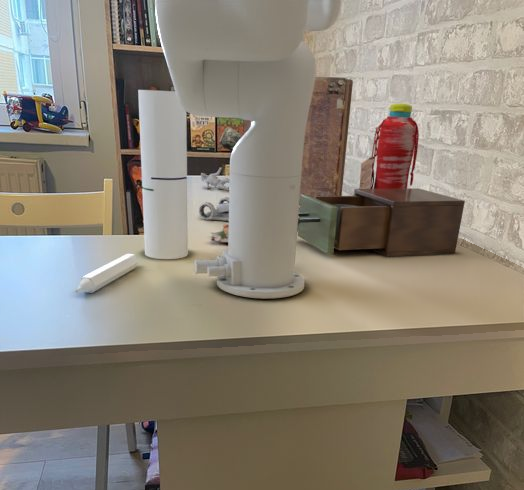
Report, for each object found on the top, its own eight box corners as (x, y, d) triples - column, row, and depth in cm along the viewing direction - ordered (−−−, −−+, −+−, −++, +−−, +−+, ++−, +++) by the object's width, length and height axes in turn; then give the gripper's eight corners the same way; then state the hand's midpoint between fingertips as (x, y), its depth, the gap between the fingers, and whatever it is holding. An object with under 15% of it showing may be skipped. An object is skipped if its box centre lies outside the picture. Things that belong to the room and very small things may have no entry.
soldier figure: (222, 195, 159) (190, 177, 163) (226, 205, 164) (195, 187, 168) (238, 175, 161) (206, 158, 164) (241, 185, 165) (210, 168, 169)
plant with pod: (266, 248, 101) (272, 129, 93) (205, 243, 102) (205, 126, 94) (271, 238, 108) (277, 127, 100) (214, 234, 109) (215, 124, 101)
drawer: (299, 254, 94) (302, 207, 91) (272, 236, 105) (274, 194, 102) (395, 250, 100) (401, 206, 97) (360, 233, 111) (364, 193, 108)
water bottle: (347, 226, 123) (360, 101, 112) (356, 220, 129) (369, 102, 119) (402, 232, 118) (421, 104, 108) (409, 226, 125) (427, 104, 115)
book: (341, 203, 149) (354, 79, 137) (335, 209, 141) (348, 77, 129) (251, 195, 156) (256, 75, 144) (241, 200, 148) (244, 74, 136)
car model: (219, 211, 132) (219, 189, 130) (316, 224, 123) (318, 201, 121) (194, 218, 122) (194, 195, 120) (297, 233, 113) (299, 208, 111)
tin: (334, 241, 99) (337, 210, 97) (321, 234, 104) (323, 204, 102) (363, 240, 101) (366, 209, 99) (348, 233, 106) (351, 204, 104)
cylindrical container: (179, 260, 91) (177, 91, 80) (138, 256, 92) (130, 89, 81) (193, 250, 97) (192, 92, 87) (154, 246, 98) (149, 90, 88)
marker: (75, 304, 72) (130, 270, 86) (87, 298, 71) (140, 265, 86) (64, 286, 71) (121, 255, 86) (76, 280, 71) (132, 249, 85)
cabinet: (386, 256, 99) (394, 201, 95) (348, 238, 112) (354, 188, 108) (455, 253, 104) (465, 200, 100) (411, 235, 116) (418, 188, 112)
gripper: (240, 70, 93) (237, 184, 100) (271, 69, 80) (265, 199, 88) (282, 73, 95) (277, 184, 103) (318, 72, 82) (309, 198, 90)
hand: (271, 191), depth 95 cm, fingers closed
